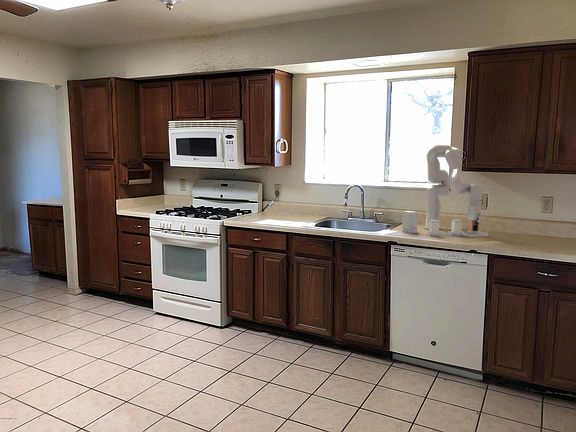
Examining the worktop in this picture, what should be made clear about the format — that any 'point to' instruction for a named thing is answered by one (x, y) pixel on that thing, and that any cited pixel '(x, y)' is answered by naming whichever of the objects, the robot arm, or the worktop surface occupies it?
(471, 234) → the tray
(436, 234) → the left fuse
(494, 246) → the worktop surface
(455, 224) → the right fuse
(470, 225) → the marked fuse
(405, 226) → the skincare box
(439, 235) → the fuse board
